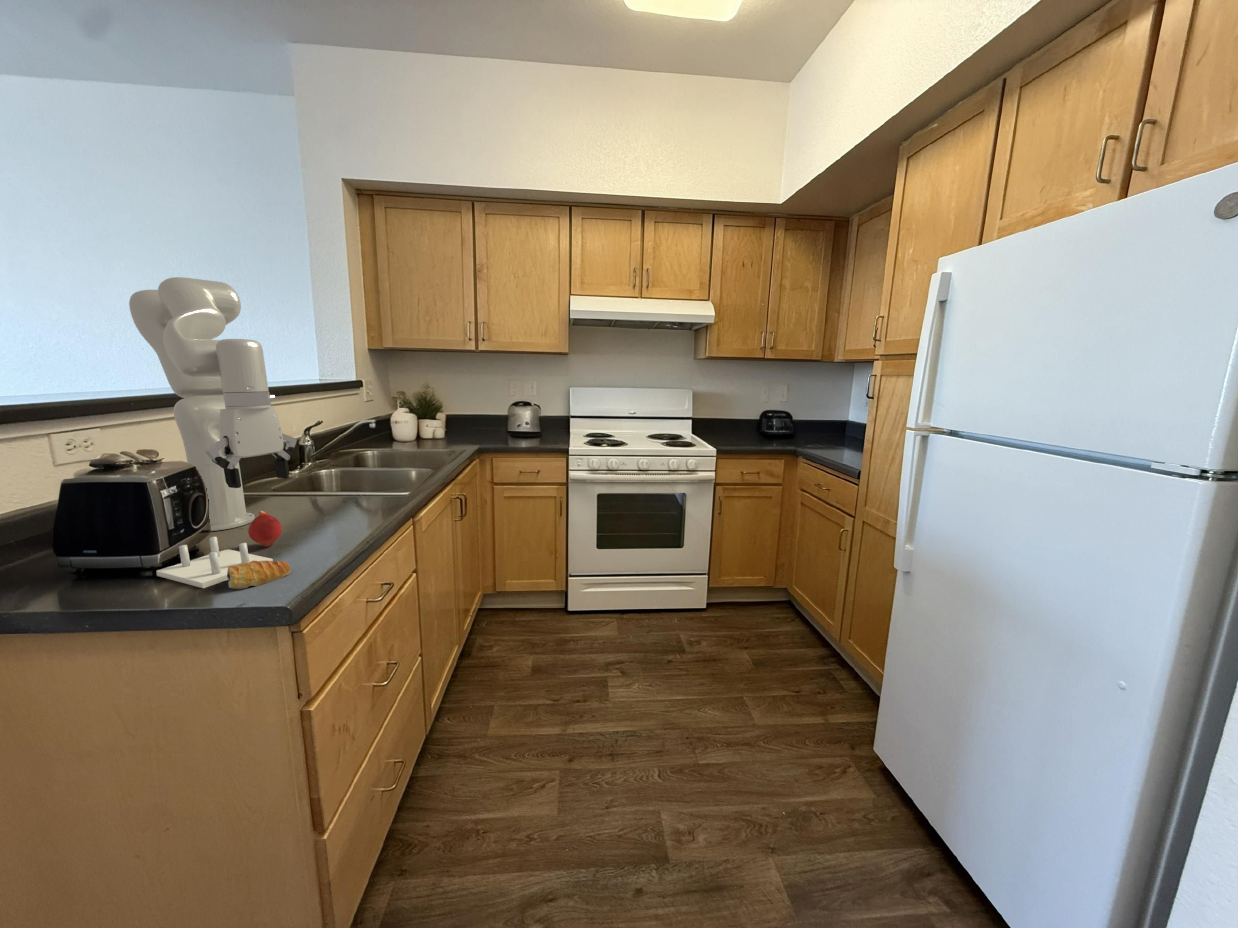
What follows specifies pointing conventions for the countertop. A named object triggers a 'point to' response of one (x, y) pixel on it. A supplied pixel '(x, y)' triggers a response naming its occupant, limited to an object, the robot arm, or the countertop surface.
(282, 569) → the pastry
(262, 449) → the robot arm
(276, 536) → the onion
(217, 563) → the pin tray
